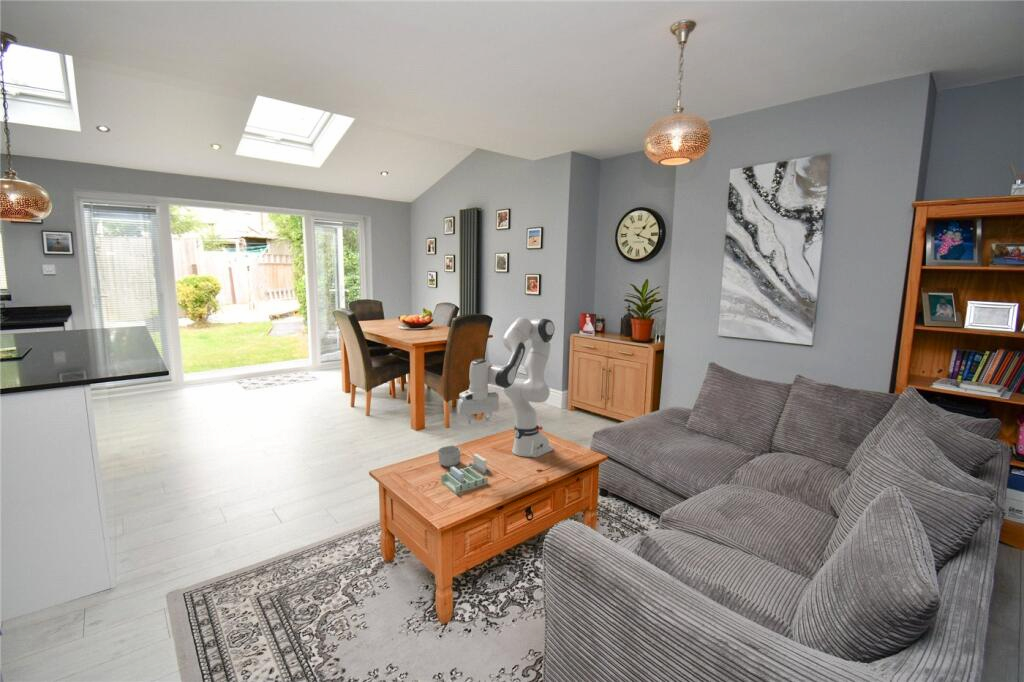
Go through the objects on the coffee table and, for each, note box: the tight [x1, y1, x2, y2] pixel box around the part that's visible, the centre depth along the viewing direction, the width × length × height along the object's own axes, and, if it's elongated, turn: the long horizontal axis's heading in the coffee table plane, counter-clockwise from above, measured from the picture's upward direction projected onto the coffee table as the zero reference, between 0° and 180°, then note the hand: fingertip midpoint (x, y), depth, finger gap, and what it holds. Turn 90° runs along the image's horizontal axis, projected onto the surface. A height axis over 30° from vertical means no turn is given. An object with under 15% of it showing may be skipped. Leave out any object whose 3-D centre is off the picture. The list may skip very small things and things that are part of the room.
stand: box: [468, 462, 492, 476], centre depth 217 cm, size 5×13×2 cm, turn 35°
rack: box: [440, 466, 489, 495], centre depth 203 cm, size 16×14×7 cm
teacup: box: [437, 444, 461, 468], centre depth 224 cm, size 14×11×8 cm
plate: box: [472, 453, 487, 472], centre depth 217 cm, size 2×9×6 cm, turn 35°
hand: (478, 422), depth 215 cm, fingers open, 8 cm apart
